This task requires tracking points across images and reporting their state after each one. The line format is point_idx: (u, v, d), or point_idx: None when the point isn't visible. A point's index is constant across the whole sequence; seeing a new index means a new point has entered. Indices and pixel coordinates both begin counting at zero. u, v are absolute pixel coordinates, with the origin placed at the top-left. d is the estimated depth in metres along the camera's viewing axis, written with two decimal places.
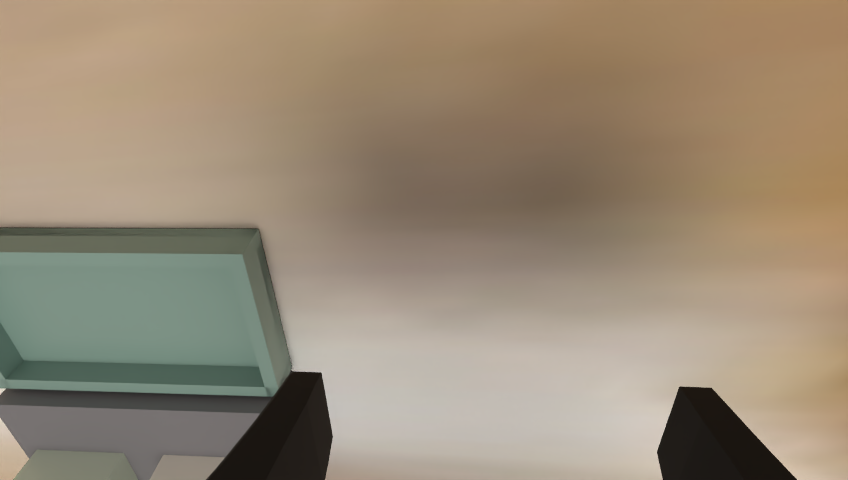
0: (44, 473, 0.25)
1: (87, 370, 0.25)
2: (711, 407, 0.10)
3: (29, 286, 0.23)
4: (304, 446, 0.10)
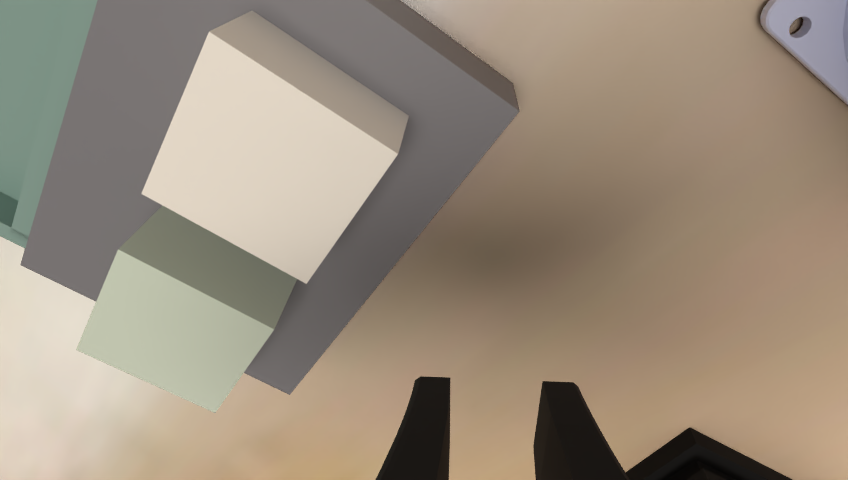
0: None
1: None
2: (565, 401, 0.10)
3: None
4: (445, 453, 0.10)
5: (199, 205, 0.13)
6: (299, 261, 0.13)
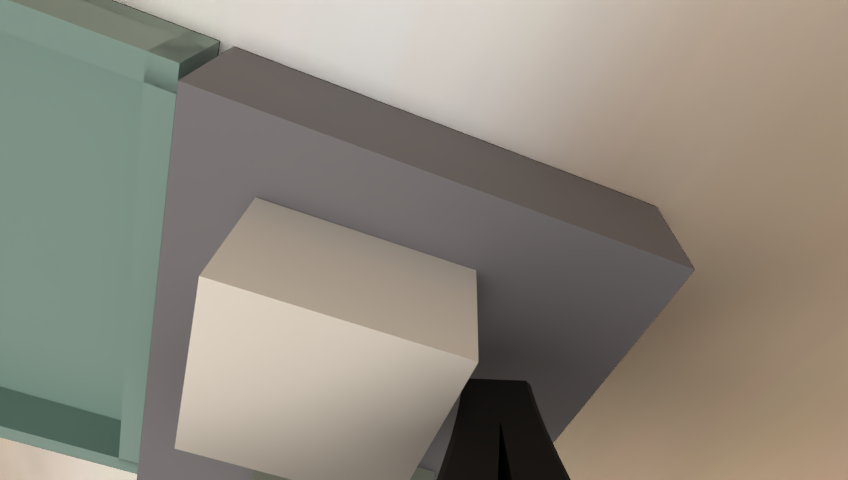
0: None
1: None
2: (514, 399, 0.10)
3: None
4: None
5: (243, 449, 0.10)
6: None
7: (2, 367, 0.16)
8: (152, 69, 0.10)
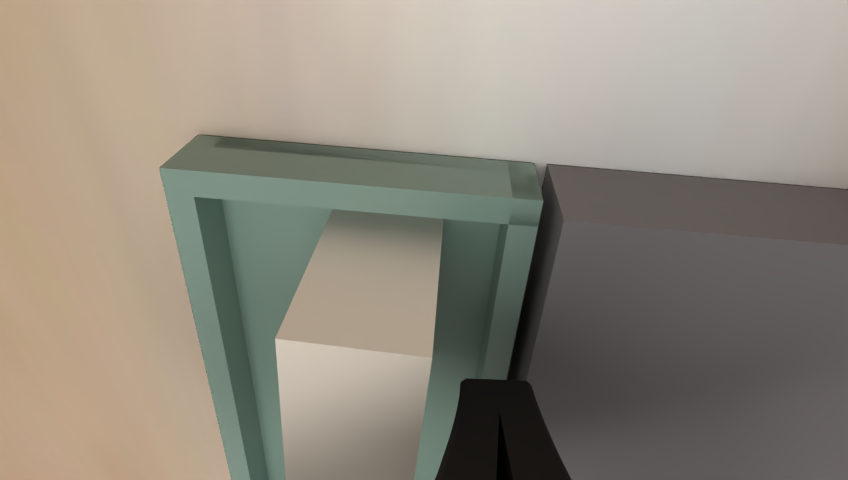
0: None
1: None
2: (515, 399, 0.10)
3: None
4: None
5: None
6: None
7: None
8: (518, 212, 0.11)
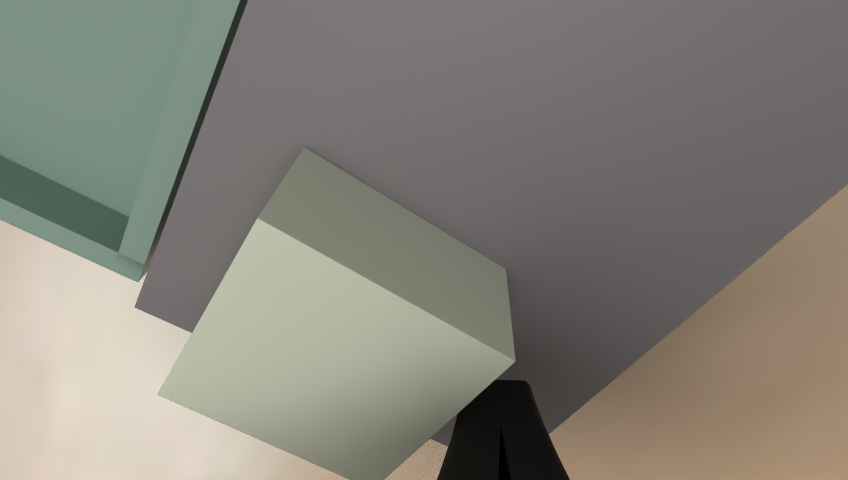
0: None
1: None
2: (513, 399, 0.10)
3: None
4: None
5: None
6: None
7: None
8: None
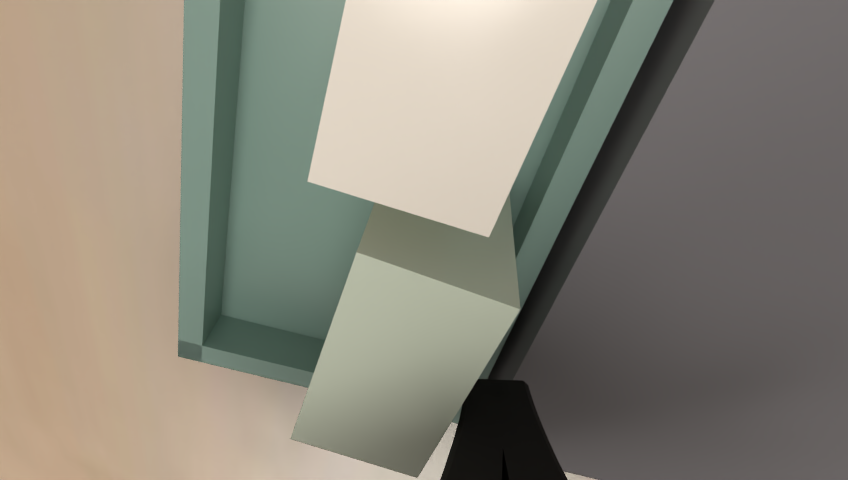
0: None
1: None
2: (511, 399, 0.10)
3: (304, 262, 0.13)
4: None
5: None
6: None
7: (309, 308, 0.14)
8: None
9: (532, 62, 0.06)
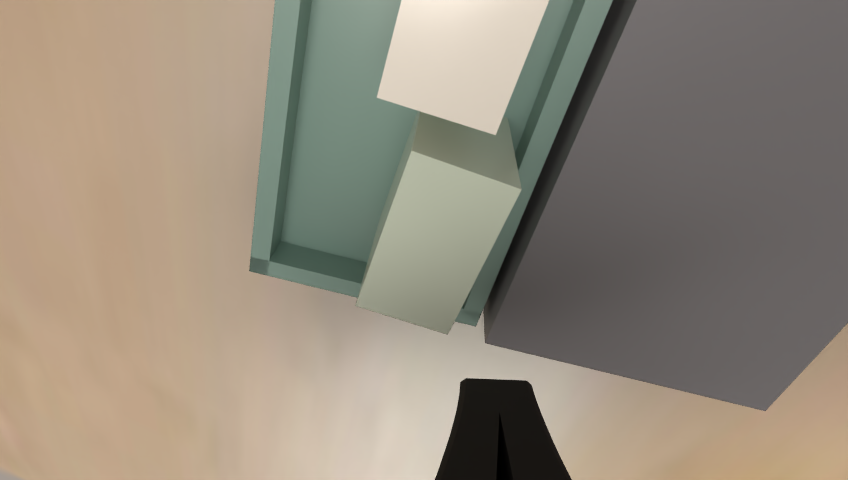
0: None
1: None
2: (515, 399, 0.10)
3: (349, 194, 0.17)
4: None
5: None
6: None
7: (351, 233, 0.18)
8: None
9: (521, 13, 0.09)
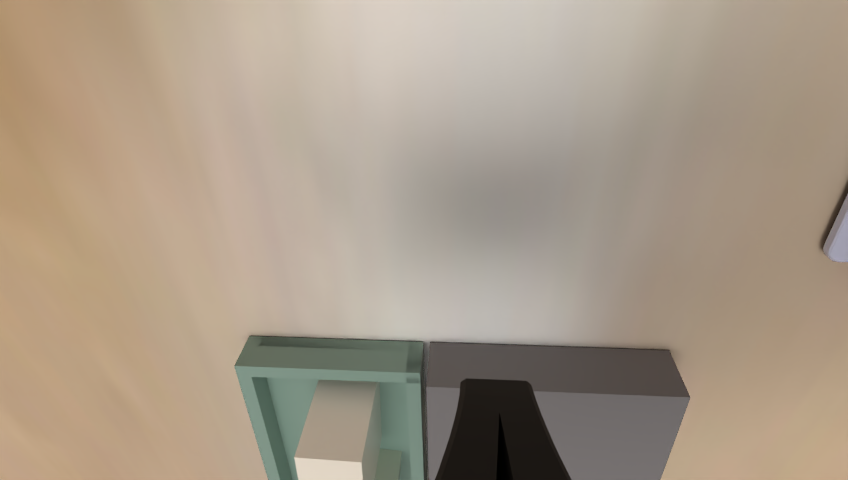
0: None
1: None
2: (515, 399, 0.10)
3: None
4: None
5: None
6: None
7: None
8: (409, 378, 0.21)
9: None
